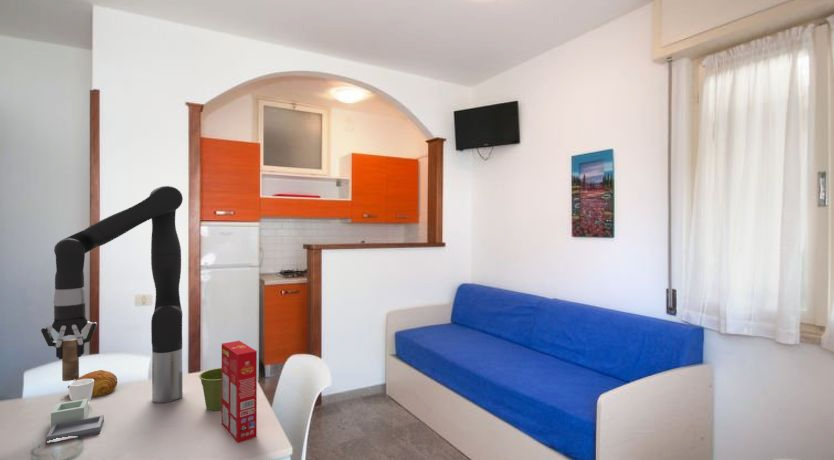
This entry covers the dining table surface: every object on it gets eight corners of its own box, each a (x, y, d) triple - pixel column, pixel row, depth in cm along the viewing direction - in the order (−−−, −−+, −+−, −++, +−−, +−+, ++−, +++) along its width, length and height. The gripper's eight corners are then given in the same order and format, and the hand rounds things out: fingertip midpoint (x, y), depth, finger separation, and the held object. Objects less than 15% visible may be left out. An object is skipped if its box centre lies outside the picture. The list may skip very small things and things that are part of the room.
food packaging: (256, 436, 121) (256, 351, 121) (237, 443, 118) (237, 354, 118) (239, 419, 132) (239, 340, 132) (221, 424, 129) (221, 343, 129)
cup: (76, 411, 137) (76, 387, 137) (58, 406, 141) (57, 383, 141) (99, 403, 144) (99, 379, 144) (81, 398, 148) (81, 376, 147)
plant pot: (204, 417, 133) (204, 382, 133) (194, 405, 142) (194, 372, 142) (242, 407, 141) (242, 374, 141) (231, 396, 150) (231, 365, 150)
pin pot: (88, 413, 136) (88, 398, 136) (83, 423, 129) (83, 407, 129) (57, 419, 132) (57, 403, 132) (50, 429, 125) (50, 413, 125)
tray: (103, 421, 131) (103, 414, 131) (99, 433, 123) (99, 426, 123) (54, 430, 125) (53, 423, 125) (46, 444, 117) (46, 436, 117)
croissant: (114, 386, 165) (114, 366, 166) (119, 392, 153) (120, 370, 154) (66, 395, 155) (67, 373, 156) (68, 402, 144) (69, 378, 144)
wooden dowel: (80, 375, 133) (79, 338, 133) (77, 379, 130) (77, 341, 130) (63, 377, 131) (63, 339, 131) (60, 382, 128) (60, 342, 127)
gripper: (100, 298, 137) (100, 350, 137) (43, 302, 130) (43, 357, 130) (96, 302, 130) (97, 357, 131) (36, 306, 123) (36, 364, 123)
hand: (70, 357), depth 130 cm, fingers closed on wooden dowel, 4 cm apart
